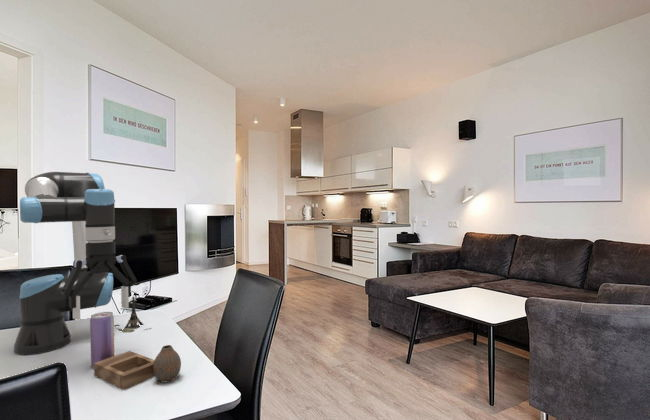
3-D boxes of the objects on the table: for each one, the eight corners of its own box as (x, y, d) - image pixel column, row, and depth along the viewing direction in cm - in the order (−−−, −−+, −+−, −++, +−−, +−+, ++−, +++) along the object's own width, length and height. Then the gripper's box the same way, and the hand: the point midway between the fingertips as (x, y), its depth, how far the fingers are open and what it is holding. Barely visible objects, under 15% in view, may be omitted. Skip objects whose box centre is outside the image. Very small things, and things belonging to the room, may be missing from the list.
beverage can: (103, 369, 104) (102, 317, 104) (86, 368, 106) (84, 316, 105) (119, 361, 110) (118, 311, 110) (102, 359, 111) (101, 311, 111)
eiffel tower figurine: (113, 326, 144) (112, 293, 144) (140, 321, 151) (140, 289, 151) (123, 336, 133) (122, 300, 133) (152, 329, 140) (151, 295, 140)
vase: (173, 370, 103) (172, 340, 103) (186, 377, 99) (185, 345, 99) (148, 379, 98) (148, 347, 98) (161, 387, 94) (160, 353, 94)
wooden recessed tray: (94, 375, 101) (94, 363, 101) (129, 362, 109) (129, 350, 109) (123, 389, 93) (123, 376, 93) (159, 374, 101) (159, 361, 101)
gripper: (57, 245, 95) (59, 326, 95) (147, 238, 116) (149, 304, 116) (45, 244, 99) (46, 322, 99) (134, 237, 120) (136, 301, 120)
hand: (102, 313), depth 108 cm, fingers open, 13 cm apart
